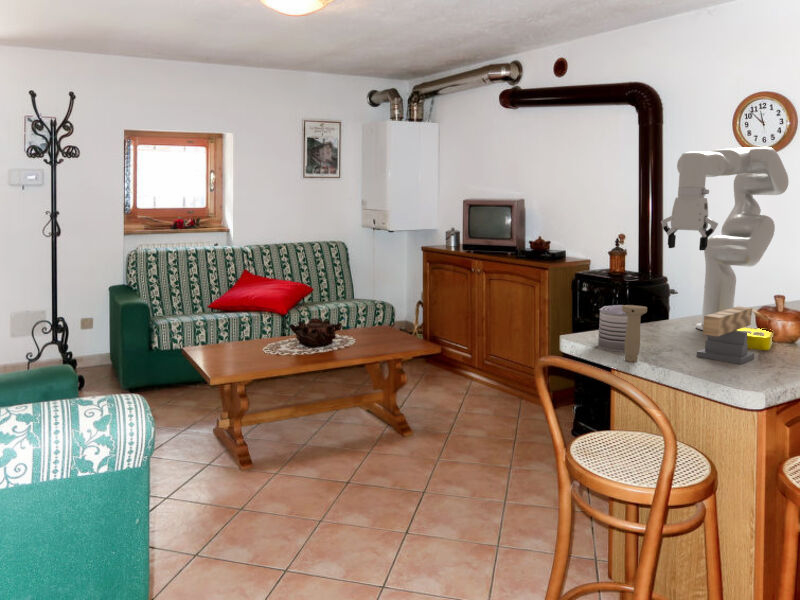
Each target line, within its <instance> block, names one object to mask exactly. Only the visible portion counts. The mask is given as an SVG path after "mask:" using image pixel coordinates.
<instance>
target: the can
mask: <svg viewBox="0 0 800 600" xmlns="http://www.w3.org/2000/svg"><path fill="white" fill-rule="evenodd" d="M623 305H624V304H614V305H604V306H603V307H601V308H599V309H598V310H599V325H598V326H599V327H598V338H597V341H598V342H597V346H598V347H599V349H602V348H603V349H602V350H605V349H606V351H610V352H624V353H625V335H626V328H627V319H628V317H627V314H626V313H625V312H623V311H622V306H623Z"/></svg>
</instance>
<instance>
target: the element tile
mask: <svg viewBox="0 0 800 600" xmlns="http://www.w3.org/2000/svg"><path fill="white" fill-rule="evenodd" d="M762 329H763V328H761V329H760V328H758V327H753V326H752V327H751V326H747V327H744V328H741V329H738V331H745V332H748V334H747V344H748V348H747V349H750V350H759V351H770V350H771V348H772V345H773V342H772V337H773V338H774V332H773V333H772V332H769V331H766V330H762Z"/></svg>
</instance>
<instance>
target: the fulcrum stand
mask: <svg viewBox="0 0 800 600" xmlns="http://www.w3.org/2000/svg"><path fill="white" fill-rule="evenodd" d="M747 334H748V332H745V331H738V330H735V331H732V332H729V333H727V334H724V335H721V336H711V335H706V336H707V337H706V339H705V345H704V348H702V349H700V350H697V351H696V358H697V357H698V358H701V359H702V358H704V359H709V360H715V361H720V362H727V363H732V364H737V365H743V364H745V363H747V362H749V361H752V360H754V359H755V353H754V352H748V349H749V348H748V344H747Z"/></svg>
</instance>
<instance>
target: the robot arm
mask: <svg viewBox="0 0 800 600" xmlns="http://www.w3.org/2000/svg"><path fill="white" fill-rule="evenodd" d="M676 169H677V171H678V173H679V176H678V189H677V197H675V198H674V202H673V207H672V211H671V216H669V217H666V218H664V219H663V220H661V221H660V223H661V226H662V228H663V230H664V232H665V233H666V235H667V245H668V249H674V248H676V239H677V237H676V236H677V235H676V232H677V231H678V230H679V231H695V232H696V231H697V232H699V234H700V235H701V237H700V238H699V249H698V250H699V251H703V252H704V253H703V254H704V259H705V273H704V274H705V275H704V288H703V300H702V309H701V310H702V311H701V322H698V323H696V324H695V325H696V326H695V328H696V329H698V330H701V331H703V326H704V316H706V315H709V314H713V313H716V312H720V311H723V310H727V309H730V308H734V307H735V299H736V298H735V295H736V294H735V293H736V285H737V277H736V273H735V271H734V270H733V268H732V266H735V267H754V266H757V265H758V263H759V262H760V261H761V260H762V257H763V256H764V254H765V252H766V251H767V250H768V247H769V245H770V244H771V241H772V240H773V238H774V234H775V230H776V229H775V228H776V227H775V221H774V220H773V218H771V217H770V216H768V215H765V214H761V210H762V209H761V206H760V205H759V202H758V201H757V200H756V198H754V196H755V195H757V196H779V195H782V194H784V193H785V192H786V191H787V189H788V186H789V175H788V172H787V170H786V167H785V165H784V163H783V161H782V159H781V157H780V155H779V154H778V152H777V151H776V150H775V149H774V148H772V147H769V146H760V147H759V146H757V147H737V148H736V147H735V148H725V149H724V148H723V149H715V150H707V151H687V152H683V153H682V154H681V156H680V157H679V158H678V160H677V164H676ZM733 175H734V179H733V193H734V194H733V197H734V207H733V208H732V209H731V212H730V213H729V215H728V216H727V218H726V219H725V221H724V222H723V224H722V227H721V235H719V234H718V235H714V236H711V235H712V234H714V232H715V230H716V229H717V227H718V226H719V223H718V222H716V221H715V220H713V219H712V218H710V217H709V205H708V204H709V203H708V198H706V195H709V194H710V190H709V189H707V188H706V181H707V180H706V178H715V177H724V176H733ZM668 223H670V226H669V225H668ZM709 225H710V227H708V226H709ZM708 228H709V229H708ZM710 236H711V237H710Z"/></svg>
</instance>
